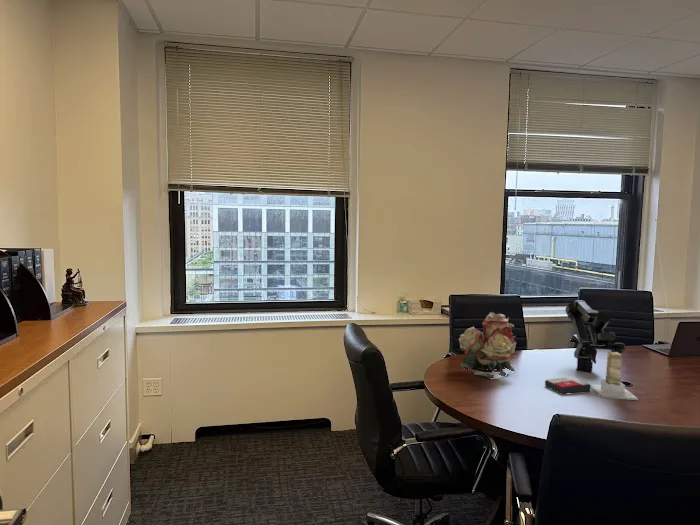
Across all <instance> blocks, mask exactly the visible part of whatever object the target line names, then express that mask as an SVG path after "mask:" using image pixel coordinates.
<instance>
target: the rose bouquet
mask: <svg viewBox="0 0 700 525" xmlns="http://www.w3.org/2000/svg"><path fill="white" fill-rule="evenodd" d="M509 319H510V316H508V317H507V318H506V315H505V314H502V313H495V312H493V311H490V312H489V313H488V314H487V315H486V317H485V319H484V320H483V321H481V324H482V325H481V326H482V329H483V330H482V331H480V330H478V329H477V328H475V326H471V327H469V328H466V329H465V330H464V332H463V333H462V334H459V336H460V337H458V339H457V340H458V341H459V347H460V348H459V350H460V351H463V352H464V353H463V354H464V355H465V354H470V355H467V357H464V358H463V359H462V361H461V364H460V367H461V366H463V367H468V368H469V367H470V368H481V369H482V370H481V371H478V370H479V369H478V370H472V371H474V372H476V373H474V374H473V375H476V376H484V377H486V378H487V379H488V380H490V379H489V378H494V377H493V376H494V375H490V374H489V373H486V372H482V371H484V370H486V369H488V370H487V371H489V370H494V369H501V370H499V371H500V372H497V374H499V375H501V376H505V375H506V373H505V372H502V371H503V370H502V369H505V368H507V369H509V370H511V371H514V372H515V368H514V367H513V366H512V365H511V361H512V360H513V359H515V358H517V355H516V353H515V349H516V345H517V341H516V340H515V338H516V335H514V334H513V332H512V331H513V329H512V328H515V325H514V324H512V323H509ZM463 367H462V368H463ZM483 369H484V370H483ZM468 371H470V370H469V369H468ZM494 371H495V370H494ZM490 373H491V372H490Z"/></svg>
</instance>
